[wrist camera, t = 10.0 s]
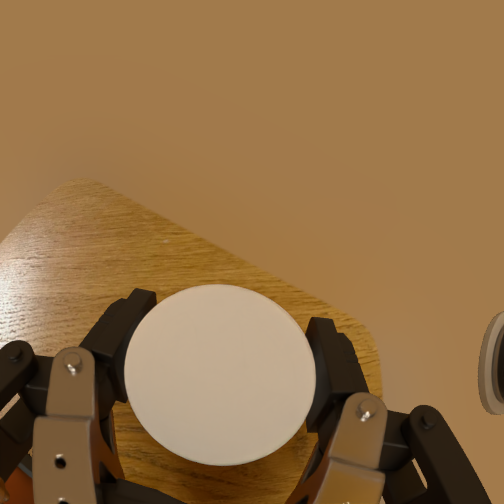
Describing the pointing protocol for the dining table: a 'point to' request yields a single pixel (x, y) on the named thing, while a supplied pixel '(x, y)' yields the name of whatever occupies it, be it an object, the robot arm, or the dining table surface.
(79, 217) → the dining table surface
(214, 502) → the dining table surface
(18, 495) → the amber bottle
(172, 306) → the pill bottle
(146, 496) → the robot arm
